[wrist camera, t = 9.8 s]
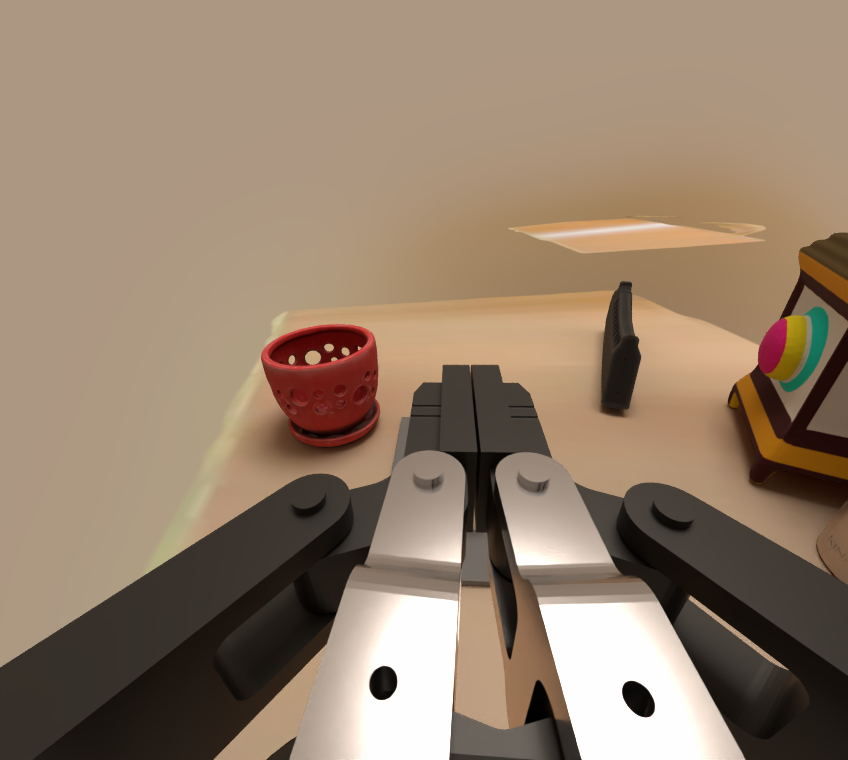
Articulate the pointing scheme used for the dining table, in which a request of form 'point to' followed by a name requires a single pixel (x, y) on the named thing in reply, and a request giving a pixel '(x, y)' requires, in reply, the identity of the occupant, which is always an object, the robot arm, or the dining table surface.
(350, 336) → the plant pot
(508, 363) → the dining table surface
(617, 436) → the dining table surface
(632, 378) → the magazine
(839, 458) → the decorative lantern
